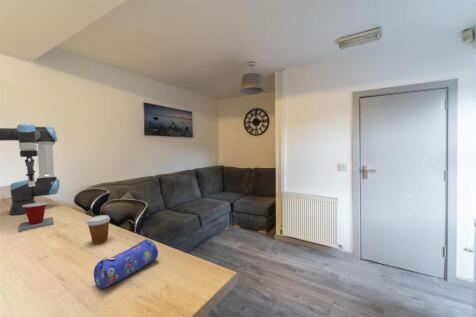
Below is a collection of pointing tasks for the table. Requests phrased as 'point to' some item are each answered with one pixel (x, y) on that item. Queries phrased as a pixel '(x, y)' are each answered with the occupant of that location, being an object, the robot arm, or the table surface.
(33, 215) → the plastic cup
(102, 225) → the disposable coffee cup
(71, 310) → the table surface
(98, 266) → the pencil case
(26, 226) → the slate tile
